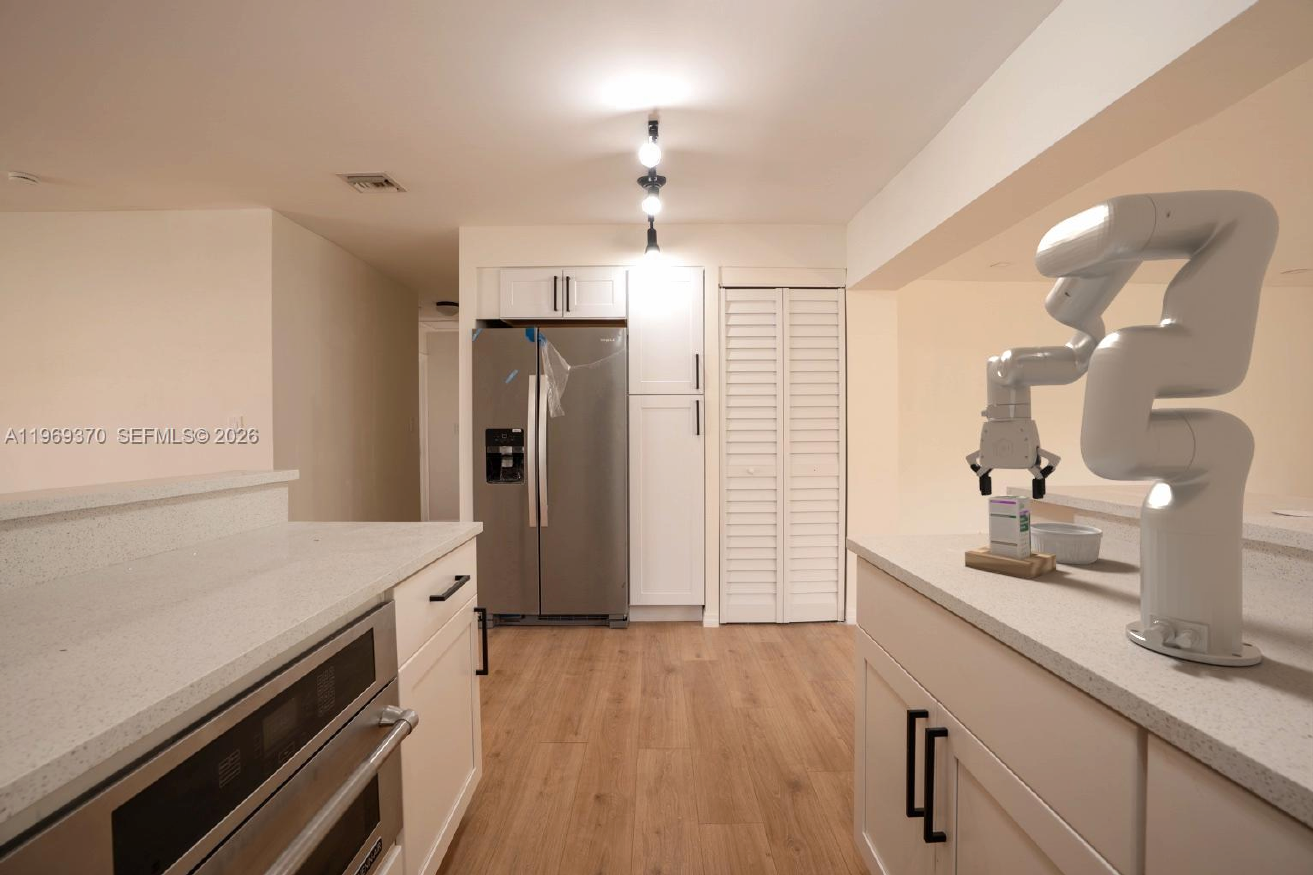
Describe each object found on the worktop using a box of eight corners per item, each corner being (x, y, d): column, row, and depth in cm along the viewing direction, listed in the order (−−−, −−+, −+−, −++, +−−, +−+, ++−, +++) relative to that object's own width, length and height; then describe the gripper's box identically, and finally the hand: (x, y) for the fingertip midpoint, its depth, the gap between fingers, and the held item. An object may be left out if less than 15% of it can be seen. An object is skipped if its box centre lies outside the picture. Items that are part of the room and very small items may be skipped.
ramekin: (1100, 569, 107) (1100, 535, 107) (1022, 559, 116) (1022, 528, 116) (1104, 557, 117) (1104, 526, 117) (1032, 549, 126) (1032, 520, 126)
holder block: (1029, 579, 101) (1029, 563, 101) (965, 566, 111) (965, 552, 111) (1056, 569, 108) (1056, 554, 108) (993, 557, 118) (993, 544, 118)
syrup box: (1020, 570, 105) (1020, 498, 105) (988, 564, 110) (987, 496, 110) (1032, 566, 109) (1031, 496, 109) (1000, 560, 114) (999, 493, 113)
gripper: (956, 416, 114) (959, 495, 114) (1049, 411, 100) (1052, 501, 99) (974, 417, 118) (976, 493, 118) (1066, 412, 104) (1069, 498, 103)
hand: (1011, 496), depth 109 cm, fingers open, 9 cm apart
